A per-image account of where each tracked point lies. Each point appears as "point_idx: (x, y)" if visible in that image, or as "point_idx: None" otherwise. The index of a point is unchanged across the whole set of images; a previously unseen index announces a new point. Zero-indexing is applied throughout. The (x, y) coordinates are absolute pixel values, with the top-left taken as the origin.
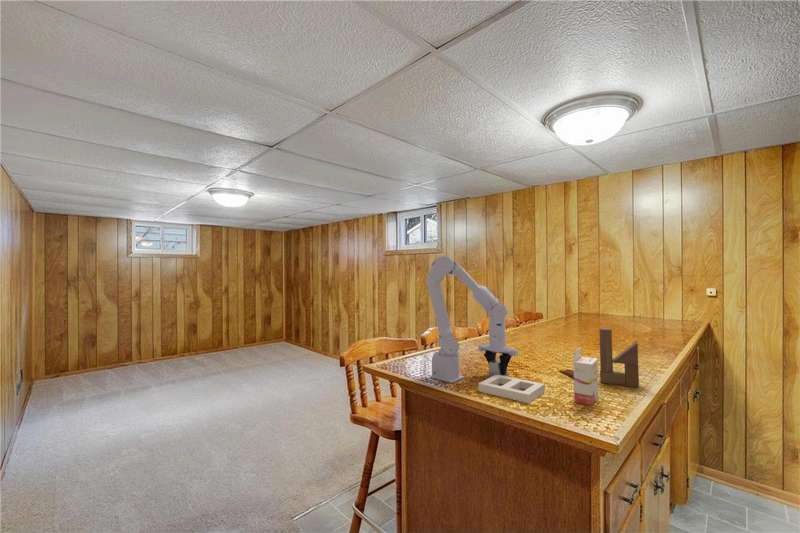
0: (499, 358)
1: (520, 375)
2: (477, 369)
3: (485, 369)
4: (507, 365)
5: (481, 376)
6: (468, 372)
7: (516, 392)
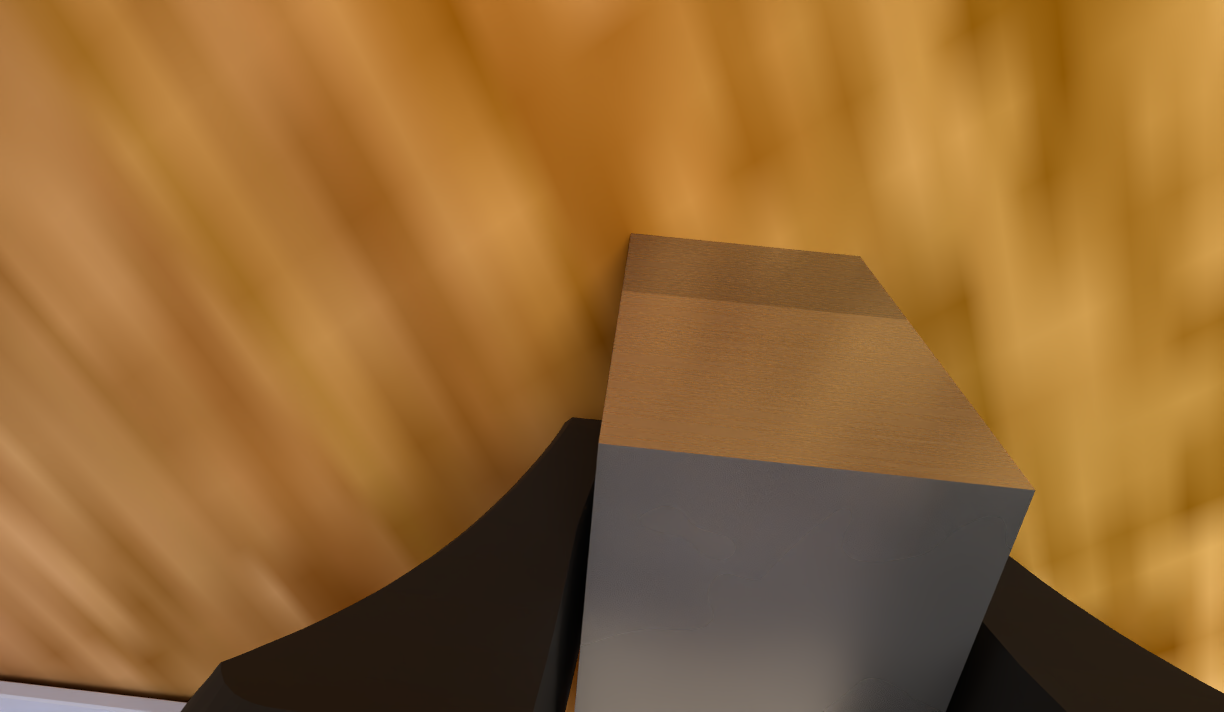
0: (687, 493)
1: (1179, 30)
2: (34, 127)
3: (168, 6)
4: (1018, 581)
5: (417, 530)
6: (78, 433)
7: None
